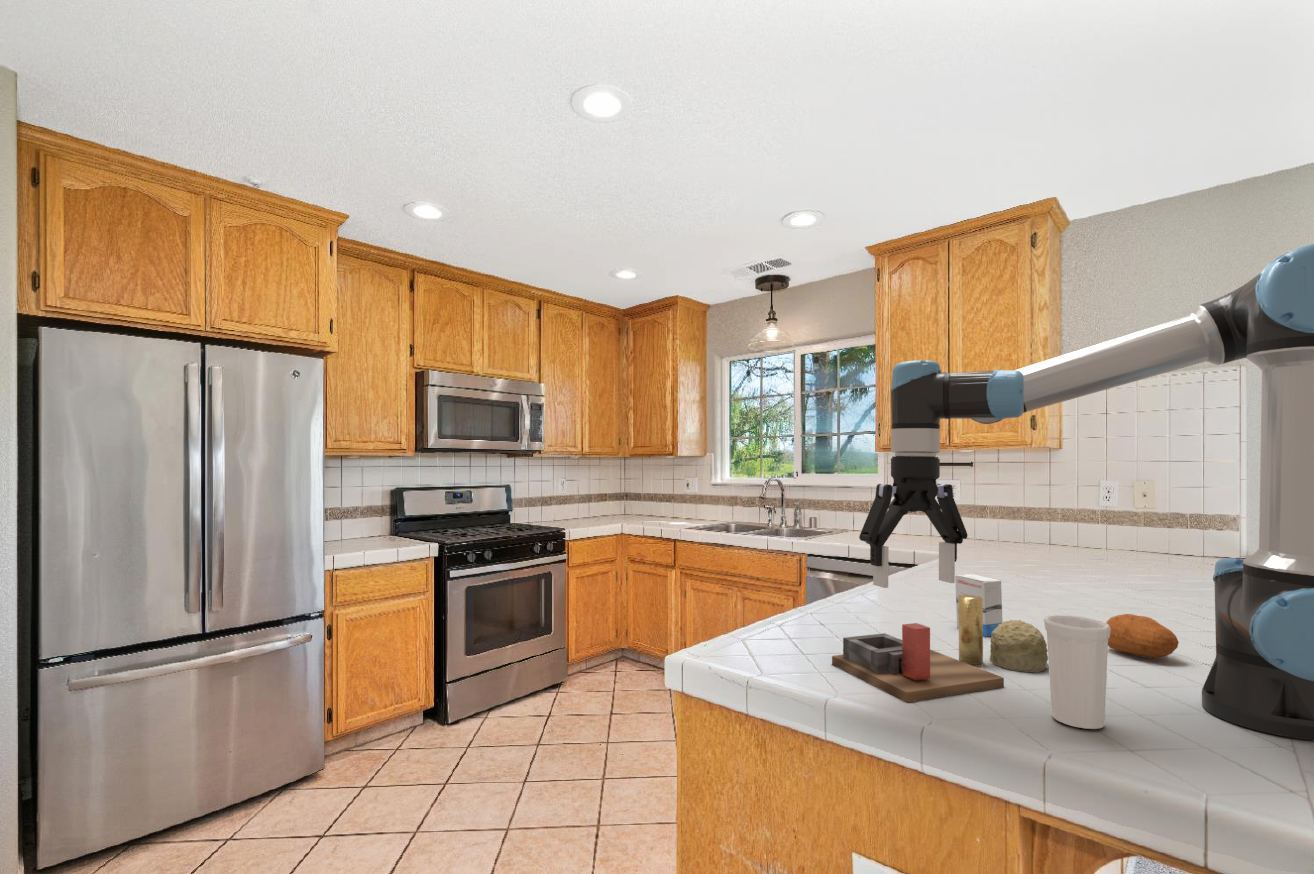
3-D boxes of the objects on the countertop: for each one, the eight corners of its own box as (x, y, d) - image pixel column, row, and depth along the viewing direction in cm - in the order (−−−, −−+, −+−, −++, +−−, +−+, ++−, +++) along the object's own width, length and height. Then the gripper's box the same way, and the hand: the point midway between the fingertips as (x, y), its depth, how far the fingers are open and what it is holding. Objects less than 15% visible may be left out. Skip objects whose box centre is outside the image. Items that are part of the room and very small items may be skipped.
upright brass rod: (988, 664, 116) (987, 598, 116) (971, 667, 115) (970, 600, 115) (970, 658, 120) (969, 594, 120) (953, 660, 118) (953, 595, 119)
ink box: (1004, 635, 135) (1003, 580, 136) (985, 637, 134) (984, 581, 134) (972, 625, 143) (972, 573, 144) (954, 627, 142) (954, 574, 142)
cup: (1031, 711, 95) (1030, 614, 95) (1083, 710, 95) (1082, 614, 96) (1070, 735, 87) (1069, 629, 87) (1127, 734, 87) (1125, 628, 88)
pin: (930, 678, 103) (930, 627, 104) (915, 680, 102) (915, 629, 103) (888, 659, 113) (887, 613, 113) (874, 661, 112) (874, 614, 112)
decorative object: (1040, 695, 111) (1072, 647, 111) (988, 659, 113) (1019, 613, 113) (1018, 681, 120) (1047, 638, 120) (970, 649, 122) (999, 606, 122)
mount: (1003, 686, 105) (1003, 656, 105) (906, 702, 98) (906, 669, 98) (919, 653, 123) (919, 627, 123) (832, 664, 116) (832, 636, 116)
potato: (1130, 646, 129) (1130, 608, 129) (1190, 663, 118) (1190, 622, 118) (1095, 649, 126) (1095, 611, 126) (1153, 667, 115) (1153, 626, 116)
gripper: (955, 455, 113) (955, 575, 113) (837, 453, 105) (836, 583, 104) (991, 456, 106) (990, 584, 106) (867, 454, 98) (866, 593, 97)
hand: (914, 584), depth 105 cm, fingers open, 13 cm apart
